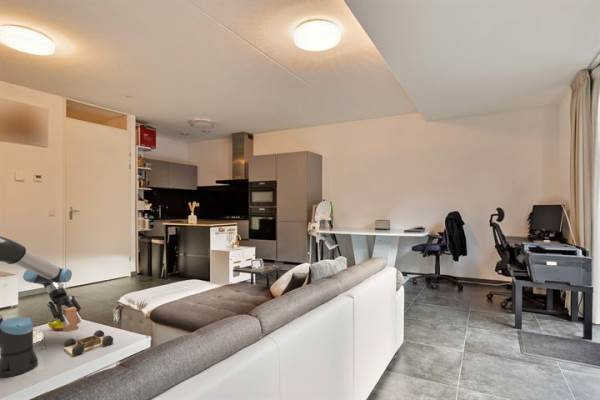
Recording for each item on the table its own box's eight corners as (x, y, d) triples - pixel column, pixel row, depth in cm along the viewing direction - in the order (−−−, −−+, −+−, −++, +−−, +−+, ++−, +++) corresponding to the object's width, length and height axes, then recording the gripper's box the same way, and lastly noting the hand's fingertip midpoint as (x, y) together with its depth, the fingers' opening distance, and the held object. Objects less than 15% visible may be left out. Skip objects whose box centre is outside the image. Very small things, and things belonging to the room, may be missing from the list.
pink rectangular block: (66, 332, 179) (66, 310, 179) (63, 330, 182) (63, 308, 183) (76, 329, 183) (76, 308, 183) (73, 327, 186) (73, 306, 187)
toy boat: (73, 331, 200) (73, 315, 200) (44, 332, 200) (44, 315, 200) (80, 327, 206) (80, 311, 206) (53, 328, 207) (52, 312, 207)
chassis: (71, 357, 165) (71, 347, 165) (63, 349, 174) (62, 340, 174) (114, 343, 181) (114, 334, 181) (104, 337, 190) (103, 328, 190)
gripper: (70, 292, 198) (88, 322, 191) (34, 300, 181) (52, 334, 174) (76, 283, 196) (93, 314, 189) (40, 291, 179) (58, 325, 172)
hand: (74, 323), depth 181 cm, fingers closed on pink rectangular block, 6 cm apart
